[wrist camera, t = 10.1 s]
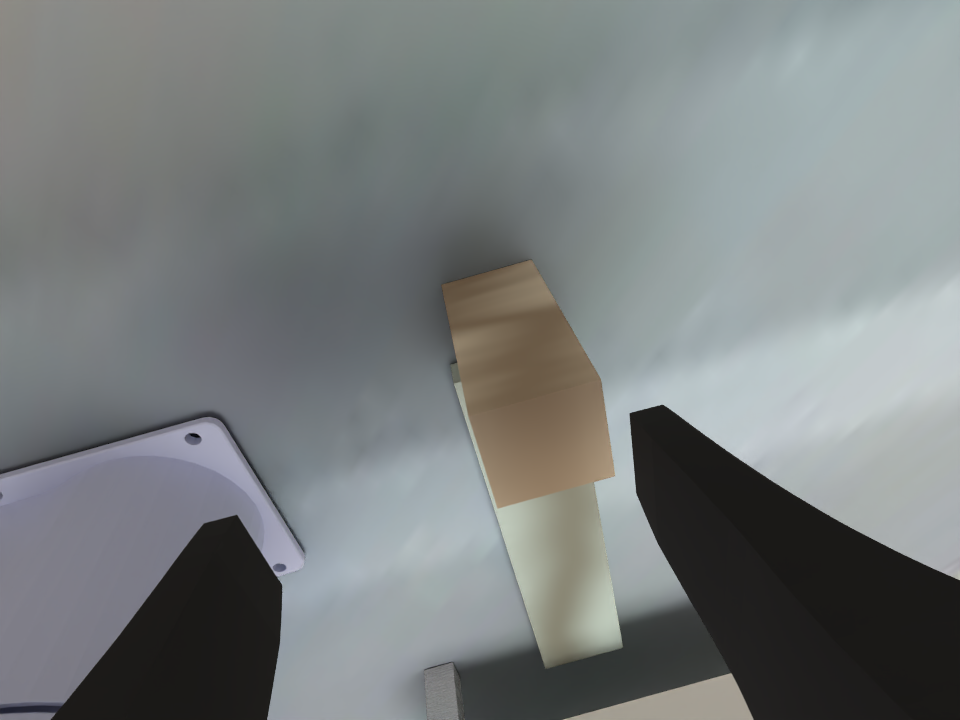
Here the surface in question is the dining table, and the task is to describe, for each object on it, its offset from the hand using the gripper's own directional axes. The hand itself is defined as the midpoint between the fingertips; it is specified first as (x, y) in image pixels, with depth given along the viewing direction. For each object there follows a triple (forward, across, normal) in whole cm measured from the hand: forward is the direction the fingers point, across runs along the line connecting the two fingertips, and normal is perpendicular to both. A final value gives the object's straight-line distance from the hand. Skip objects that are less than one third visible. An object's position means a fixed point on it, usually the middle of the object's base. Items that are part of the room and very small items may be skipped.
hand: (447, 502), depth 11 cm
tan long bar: (+9, -2, +10) cm, 14 cm away
